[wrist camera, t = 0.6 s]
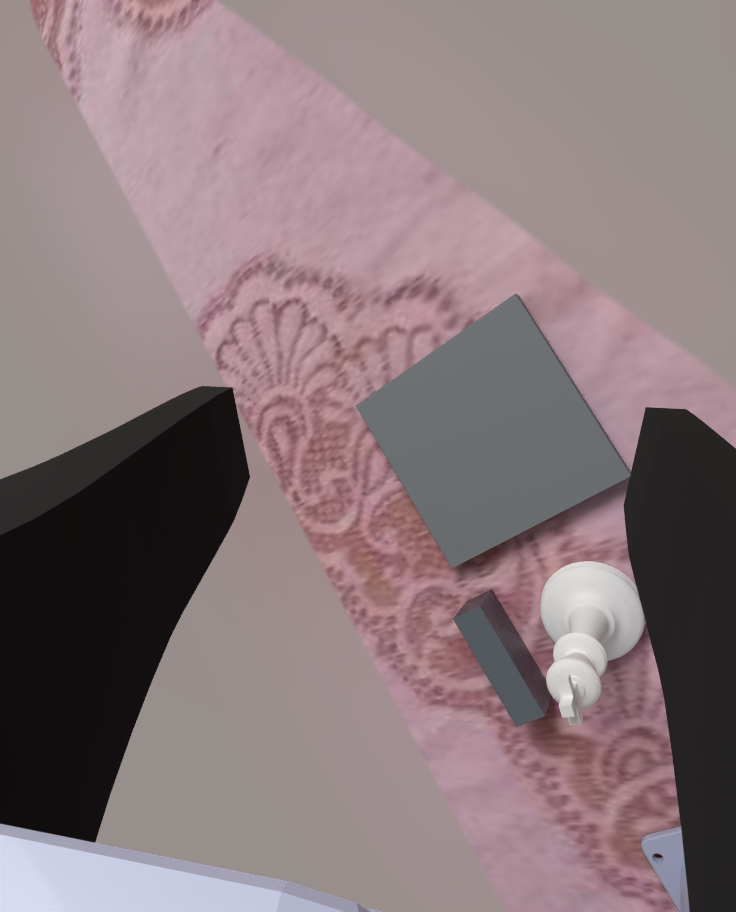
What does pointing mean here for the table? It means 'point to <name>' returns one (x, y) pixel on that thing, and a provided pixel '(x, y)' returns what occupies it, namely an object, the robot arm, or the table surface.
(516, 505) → the mat
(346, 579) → the table surface
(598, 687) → the chess piece
